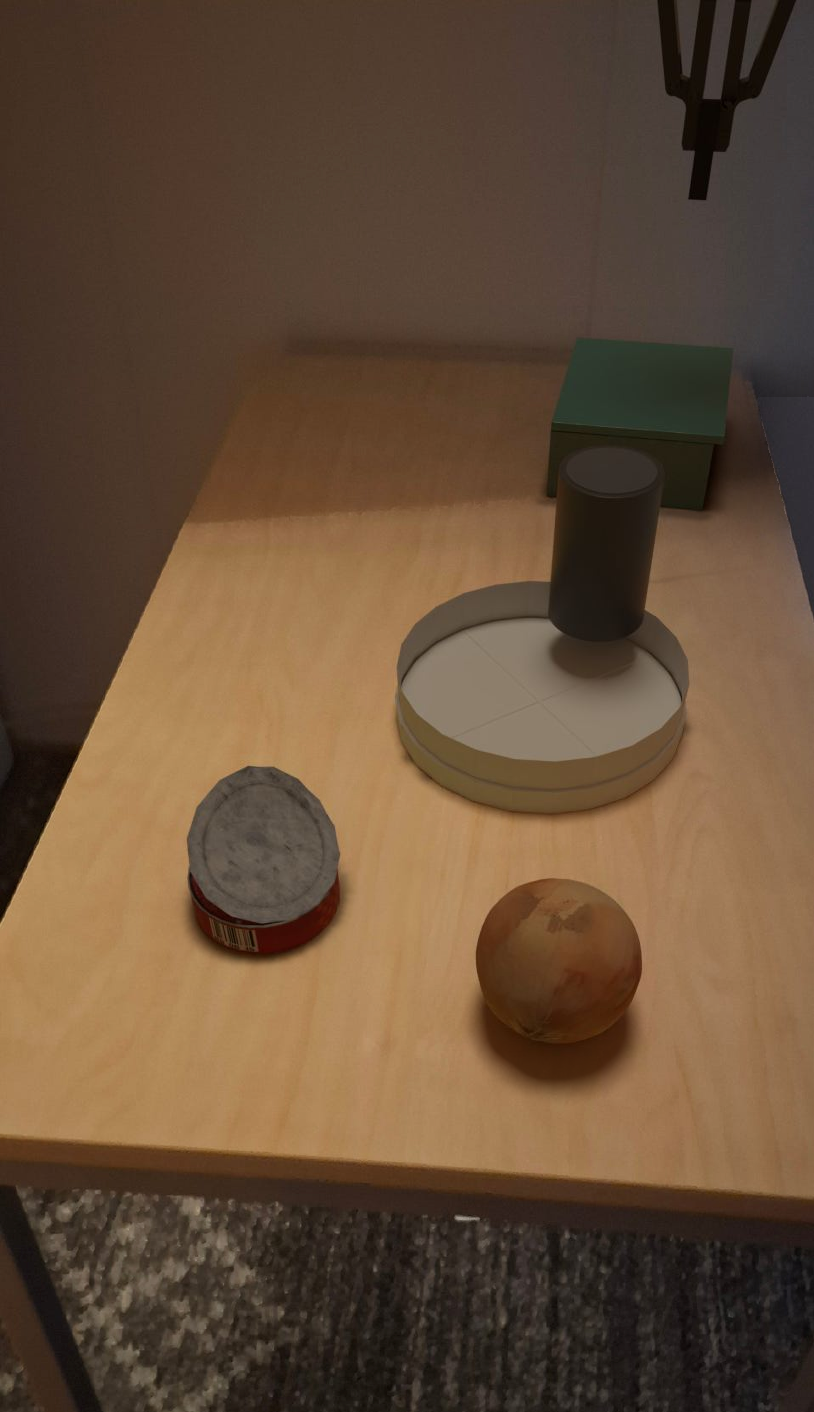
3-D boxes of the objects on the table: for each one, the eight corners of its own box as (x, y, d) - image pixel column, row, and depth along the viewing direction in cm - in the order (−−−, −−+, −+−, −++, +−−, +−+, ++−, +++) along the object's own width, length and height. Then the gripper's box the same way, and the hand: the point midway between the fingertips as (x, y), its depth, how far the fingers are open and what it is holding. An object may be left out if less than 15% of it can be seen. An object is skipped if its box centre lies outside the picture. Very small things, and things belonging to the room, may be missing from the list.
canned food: (326, 899, 84) (387, 810, 78) (293, 1001, 77) (356, 912, 71) (184, 829, 82) (234, 731, 76) (135, 926, 75) (186, 827, 68)
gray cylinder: (625, 580, 94) (643, 438, 85) (657, 634, 89) (680, 489, 80) (536, 594, 93) (545, 451, 84) (564, 648, 88) (577, 503, 79)
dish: (497, 858, 80) (499, 806, 77) (345, 688, 93) (341, 636, 90) (743, 744, 88) (756, 692, 84) (570, 601, 101) (575, 550, 97)
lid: (731, 356, 115) (733, 348, 114) (723, 445, 103) (724, 436, 103) (576, 345, 118) (576, 337, 117) (550, 430, 106) (551, 422, 105)
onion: (634, 954, 75) (655, 846, 67) (629, 1086, 68) (651, 983, 61) (484, 937, 76) (488, 829, 68) (464, 1065, 69) (466, 962, 62)
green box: (711, 426, 121) (723, 356, 115) (700, 518, 109) (714, 444, 103) (570, 415, 123) (576, 345, 118) (545, 504, 111) (550, 431, 106)
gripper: (849, -194, 81) (778, 183, 99) (661, -192, 83) (624, 176, 101) (852, -179, 76) (777, 214, 94) (652, -178, 79) (615, 206, 96)
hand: (698, 194), depth 97 cm, fingers closed
